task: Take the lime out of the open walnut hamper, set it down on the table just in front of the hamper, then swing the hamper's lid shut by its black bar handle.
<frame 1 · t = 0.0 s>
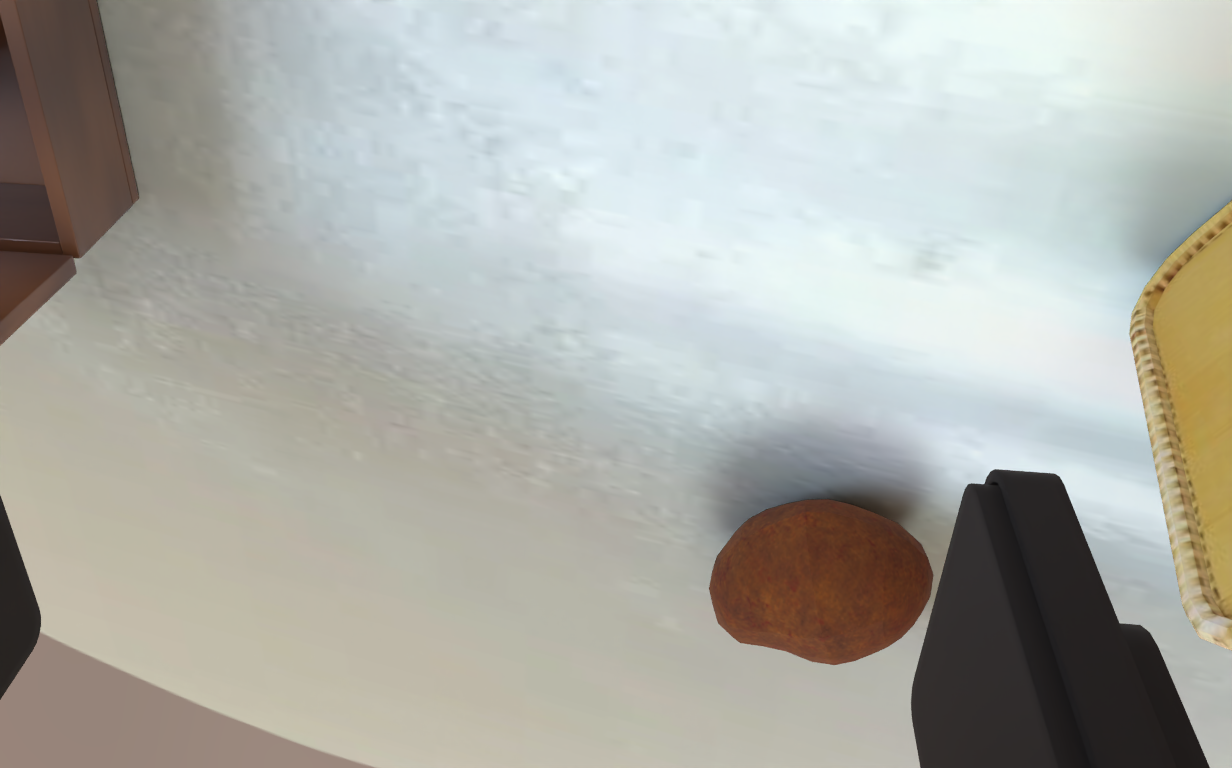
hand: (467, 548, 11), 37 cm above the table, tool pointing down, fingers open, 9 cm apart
potato: (812, 529, 59), on the table
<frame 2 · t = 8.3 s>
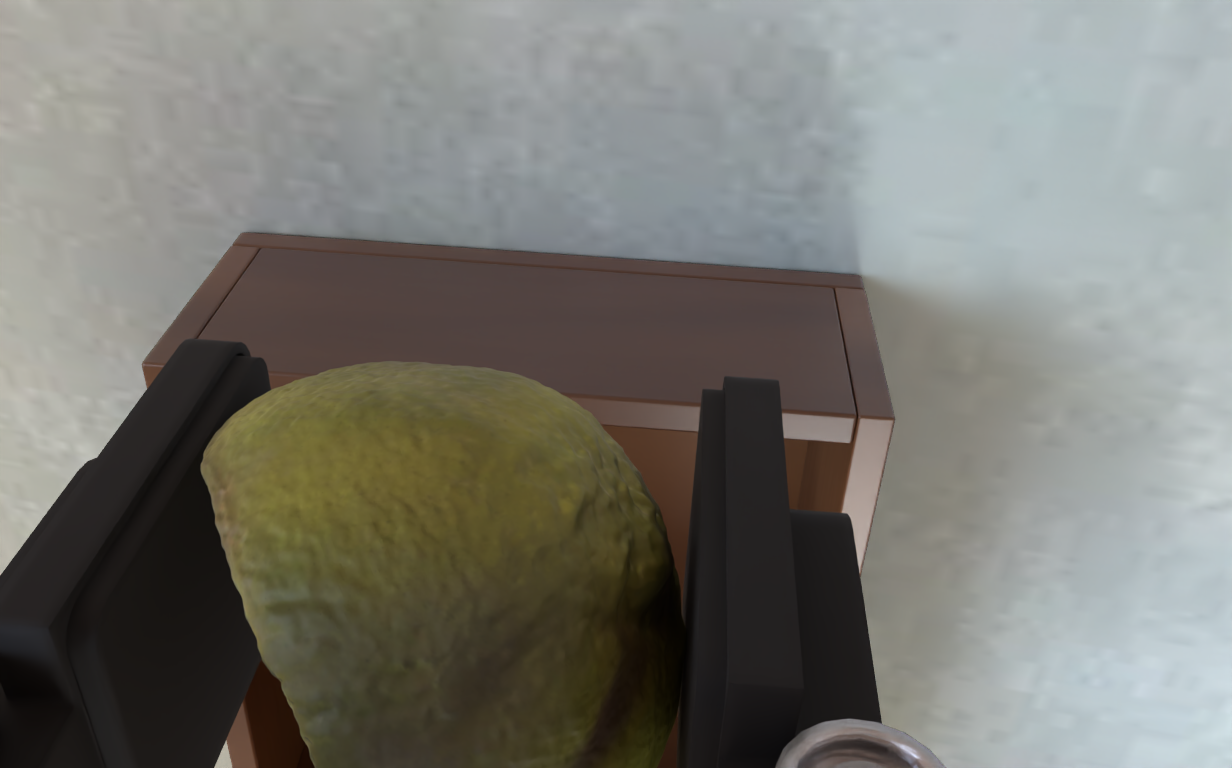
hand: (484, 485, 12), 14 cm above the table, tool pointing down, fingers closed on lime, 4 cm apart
hamper: (546, 508, 31), on the table
lime: (488, 434, 12), point 14 cm above the table, touching gripper
when the fingers open (1 cm above the table, at t = 11.8 s): lime stays where it is, on the table.
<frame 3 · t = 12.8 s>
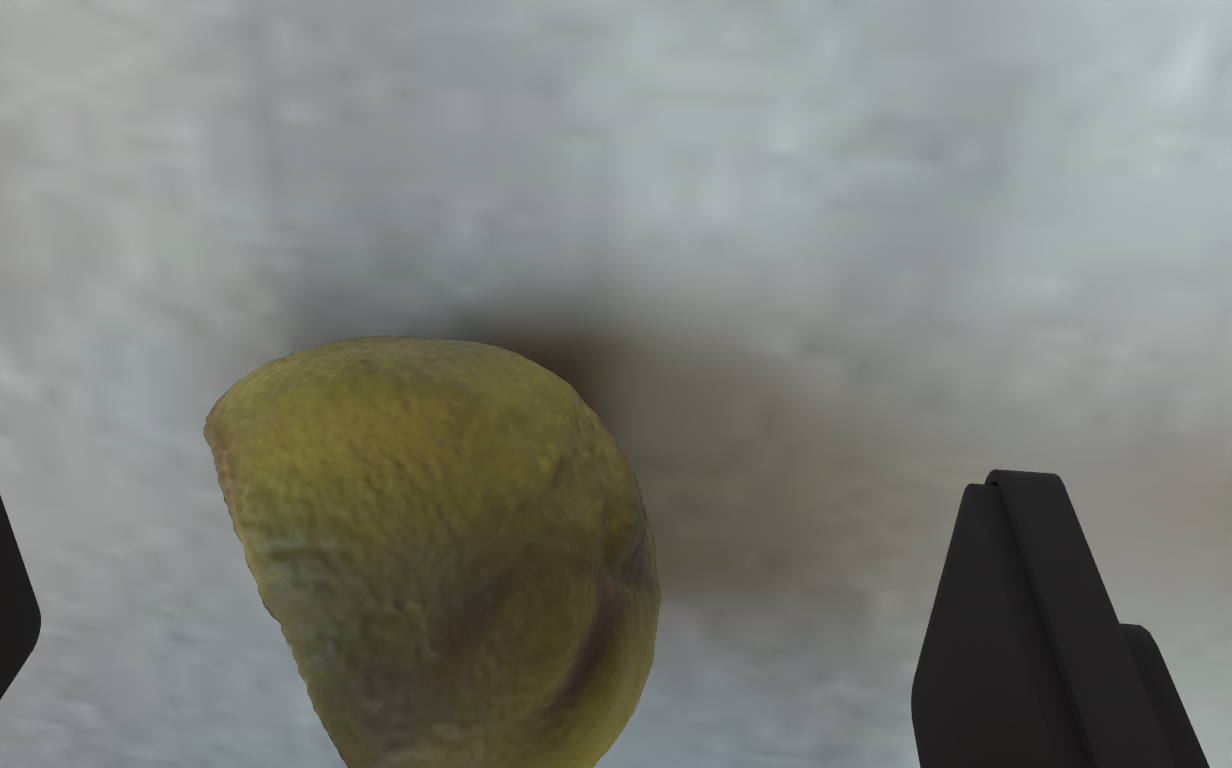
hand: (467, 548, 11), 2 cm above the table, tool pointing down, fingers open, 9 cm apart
lime: (474, 410, 13), on the table
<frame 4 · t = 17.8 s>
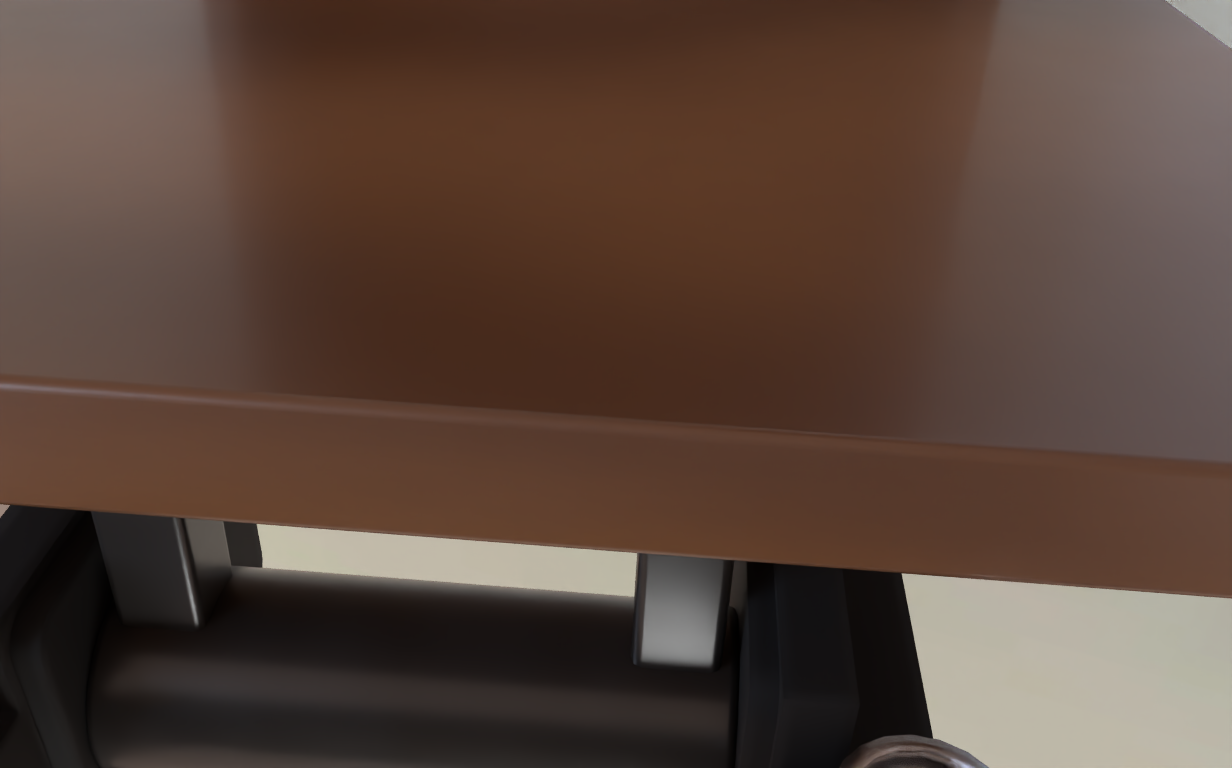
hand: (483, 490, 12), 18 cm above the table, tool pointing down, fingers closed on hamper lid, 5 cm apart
hamper lid: (526, 216, 14), point 14 cm above the table, hinge at 88.0°, touching gripper
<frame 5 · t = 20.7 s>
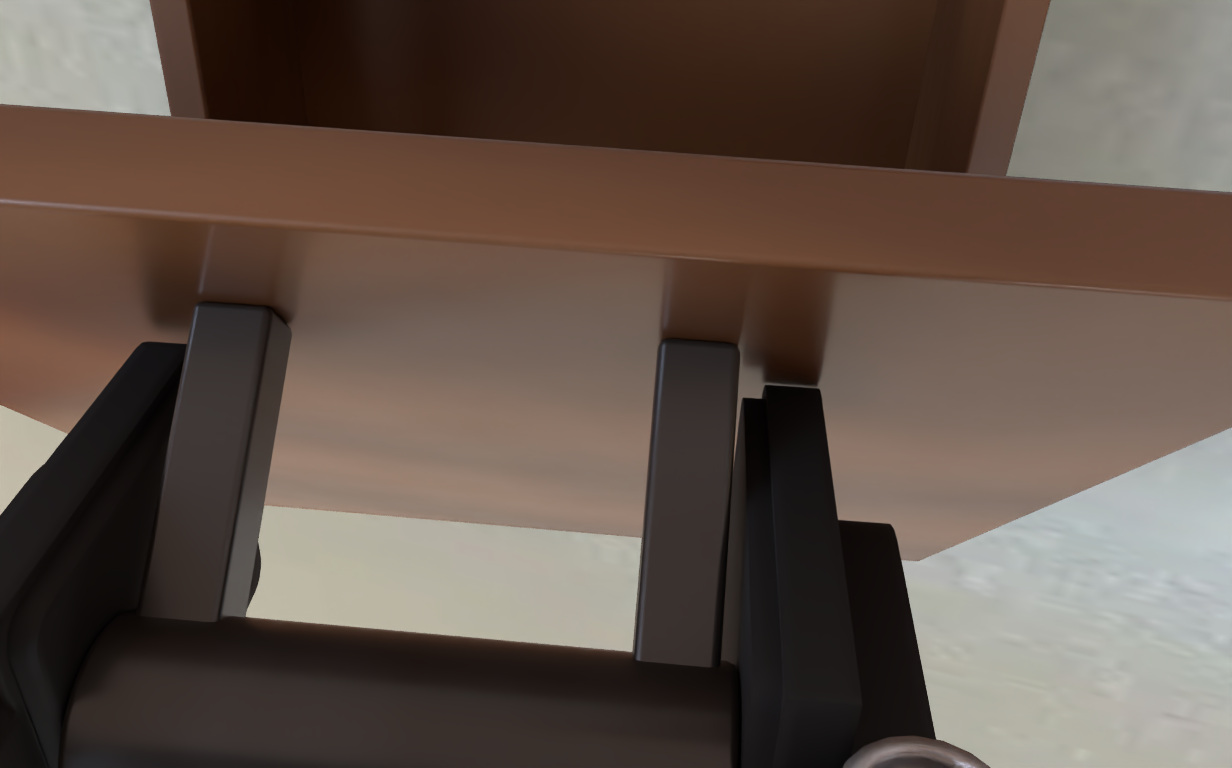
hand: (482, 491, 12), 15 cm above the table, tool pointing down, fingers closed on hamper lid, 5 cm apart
hamper lid: (517, 590, 15), point 13 cm above the table, hinge at 41.0°, touching gripper
hamper: (609, 48, 24), on the table
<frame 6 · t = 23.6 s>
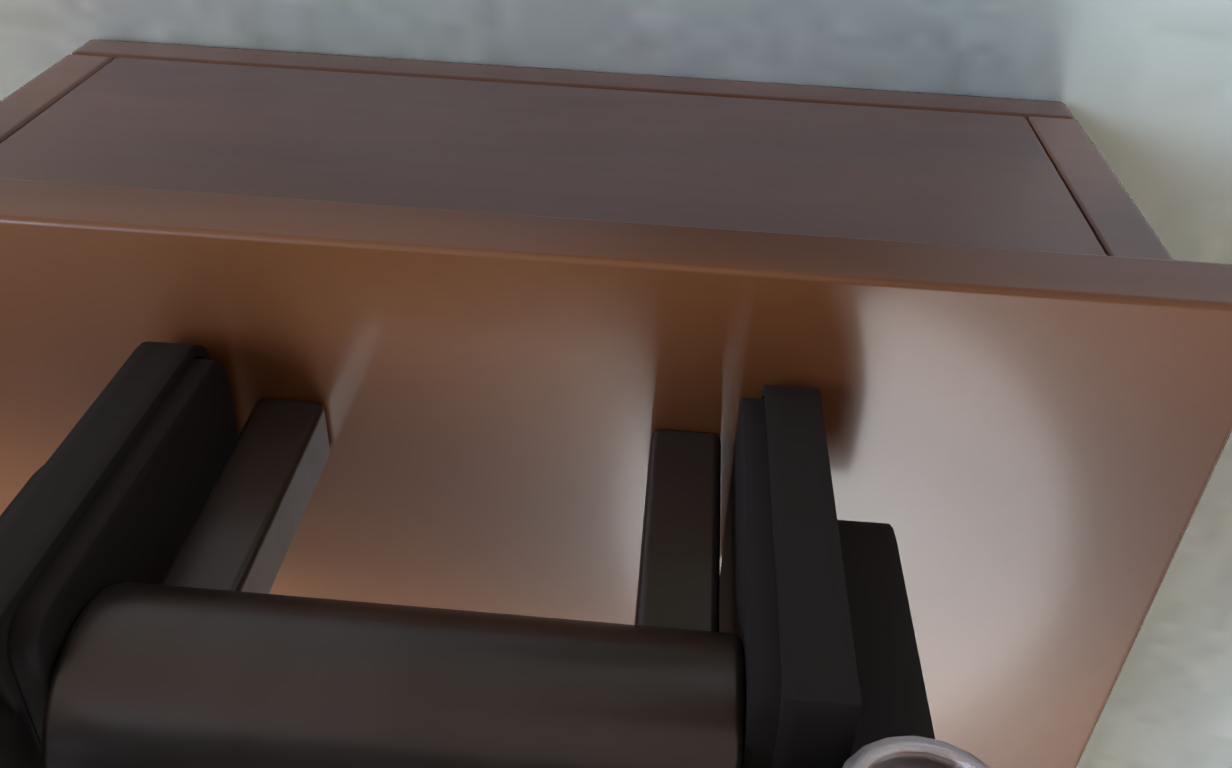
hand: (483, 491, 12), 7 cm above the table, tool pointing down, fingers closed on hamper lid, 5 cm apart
hamper: (562, 476, 21), on the table
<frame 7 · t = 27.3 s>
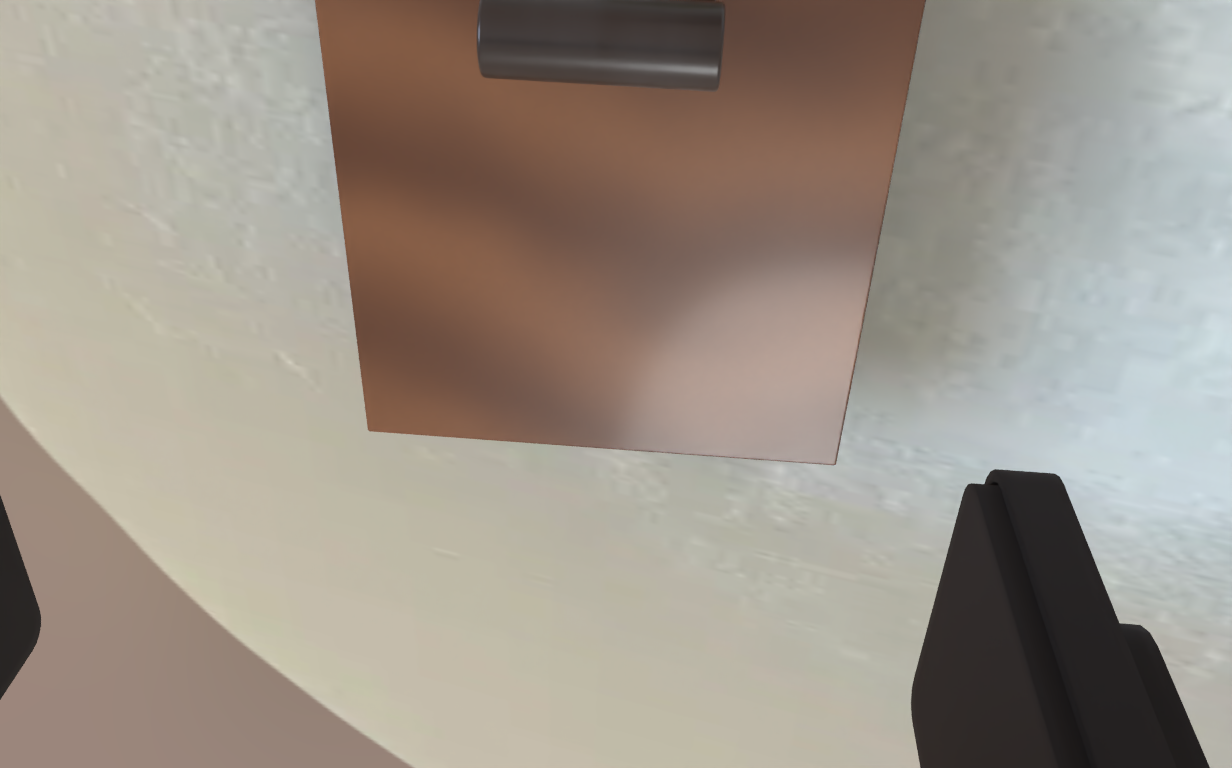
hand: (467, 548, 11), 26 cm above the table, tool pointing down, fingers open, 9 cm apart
hamper lid: (601, 246, 29), point 9 cm above the table, hinge at 2.5°
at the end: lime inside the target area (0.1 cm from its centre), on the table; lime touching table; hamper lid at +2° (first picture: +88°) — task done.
